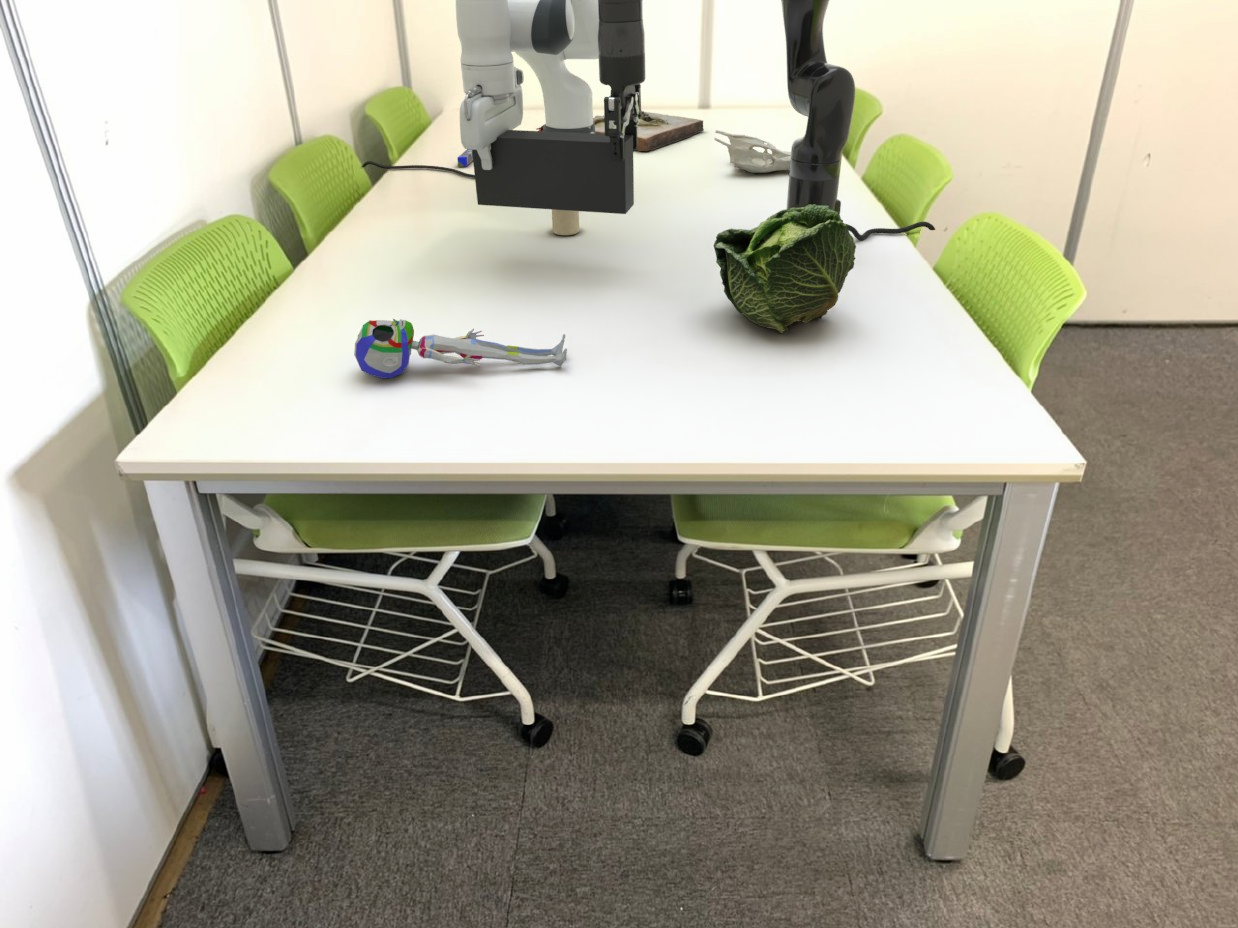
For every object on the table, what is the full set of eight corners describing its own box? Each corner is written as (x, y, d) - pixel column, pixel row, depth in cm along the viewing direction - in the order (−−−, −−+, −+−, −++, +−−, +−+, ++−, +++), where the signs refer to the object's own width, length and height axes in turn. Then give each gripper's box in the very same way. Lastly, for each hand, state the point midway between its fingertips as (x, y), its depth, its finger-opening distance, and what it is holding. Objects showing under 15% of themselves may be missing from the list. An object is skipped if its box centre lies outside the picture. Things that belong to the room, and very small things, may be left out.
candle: (583, 228, 187) (581, 180, 181) (573, 236, 182) (571, 187, 177) (558, 226, 188) (556, 178, 183) (548, 234, 184) (545, 185, 178)
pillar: (484, 140, 247) (465, 158, 230) (485, 148, 248) (466, 167, 231) (476, 140, 247) (457, 158, 230) (477, 148, 248) (457, 166, 231)
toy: (569, 347, 126) (349, 329, 122) (563, 400, 131) (350, 385, 126) (565, 318, 135) (359, 301, 130) (559, 369, 139) (360, 354, 134)
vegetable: (744, 347, 153) (688, 245, 145) (835, 284, 154) (785, 179, 146) (797, 369, 135) (736, 254, 127) (900, 297, 136) (846, 179, 128)
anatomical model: (716, 127, 227) (816, 125, 224) (715, 164, 232) (813, 163, 229) (712, 140, 215) (818, 139, 211) (712, 179, 220) (815, 179, 216)
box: (477, 205, 162) (470, 136, 155) (489, 195, 166) (483, 128, 160) (625, 214, 155) (624, 143, 149) (633, 204, 160) (633, 135, 153)
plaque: (647, 125, 237) (559, 112, 252) (647, 153, 241) (560, 139, 256) (706, 107, 258) (622, 97, 273) (705, 133, 262) (622, 121, 277)
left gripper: (482, 93, 143) (490, 180, 150) (526, 70, 159) (532, 150, 167) (445, 91, 144) (455, 178, 152) (493, 69, 161) (500, 148, 168)
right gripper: (632, 58, 137) (635, 166, 146) (654, 44, 149) (655, 145, 157) (586, 58, 139) (591, 164, 148) (611, 44, 150) (614, 144, 159)
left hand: (496, 163), depth 160 cm, fingers closed on box, 6 cm apart
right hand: (624, 154), depth 153 cm, fingers open, 8 cm apart
